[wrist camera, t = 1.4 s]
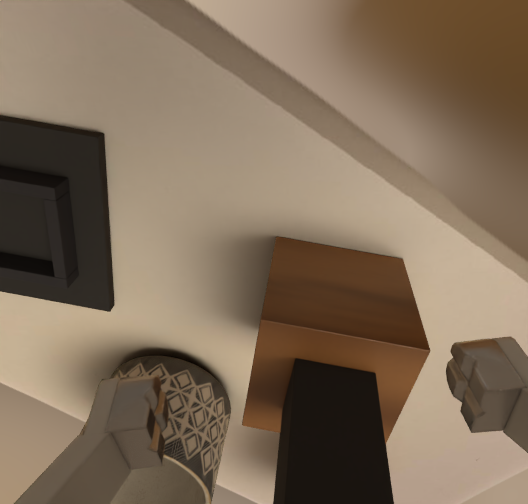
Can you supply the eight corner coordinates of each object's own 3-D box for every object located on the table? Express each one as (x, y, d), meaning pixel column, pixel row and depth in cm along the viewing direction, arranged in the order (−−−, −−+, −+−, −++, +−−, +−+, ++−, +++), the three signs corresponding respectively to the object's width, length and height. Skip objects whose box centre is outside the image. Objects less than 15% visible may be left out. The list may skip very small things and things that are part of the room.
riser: (276, 236, 34) (260, 319, 25) (403, 258, 33) (430, 350, 25) (259, 330, 39) (241, 425, 30) (368, 350, 39) (381, 452, 30)
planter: (182, 329, 40) (142, 426, 31) (256, 412, 45) (240, 516, 36) (89, 371, 44) (31, 466, 36) (165, 442, 49) (131, 541, 40)
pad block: (294, 355, 26) (280, 530, 18) (378, 371, 26) (404, 555, 18) (280, 410, 29) (263, 583, 21) (356, 424, 29) (370, 605, 20)
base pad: (-84, 100, 31) (-120, 110, 29) (104, 133, 31) (84, 146, 28) (-33, 277, 40) (-58, 297, 37) (114, 305, 39) (100, 326, 37)
